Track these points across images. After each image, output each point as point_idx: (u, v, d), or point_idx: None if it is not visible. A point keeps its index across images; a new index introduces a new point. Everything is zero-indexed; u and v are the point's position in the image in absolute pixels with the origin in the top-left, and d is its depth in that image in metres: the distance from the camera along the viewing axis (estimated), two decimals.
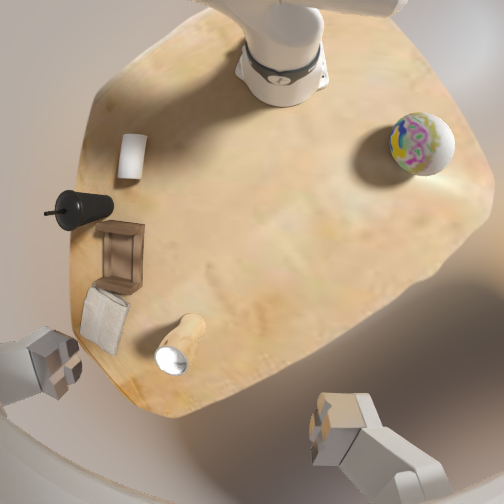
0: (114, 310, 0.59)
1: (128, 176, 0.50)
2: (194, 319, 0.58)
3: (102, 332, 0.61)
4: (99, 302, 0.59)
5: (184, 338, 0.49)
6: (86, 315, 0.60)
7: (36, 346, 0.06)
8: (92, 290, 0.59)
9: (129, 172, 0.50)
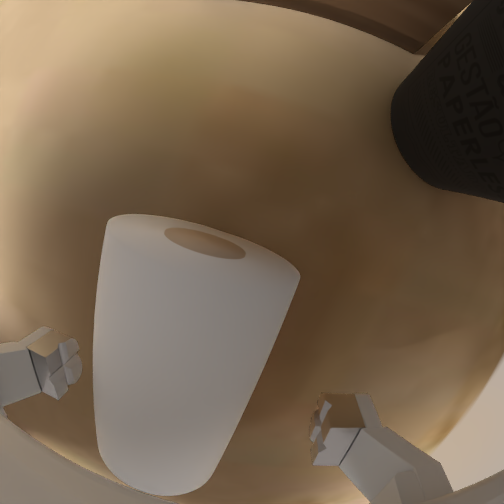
0: None
1: None
2: None
3: None
4: None
5: None
6: None
7: (36, 346, 0.06)
8: None
9: (100, 267, 0.06)
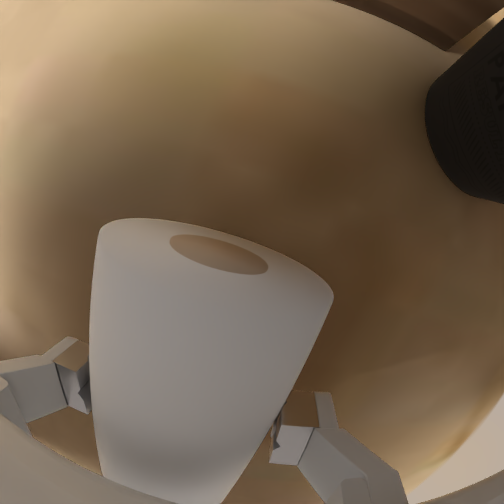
0: None
1: None
2: None
3: None
4: None
5: None
6: None
7: (63, 360, 0.06)
8: None
9: None
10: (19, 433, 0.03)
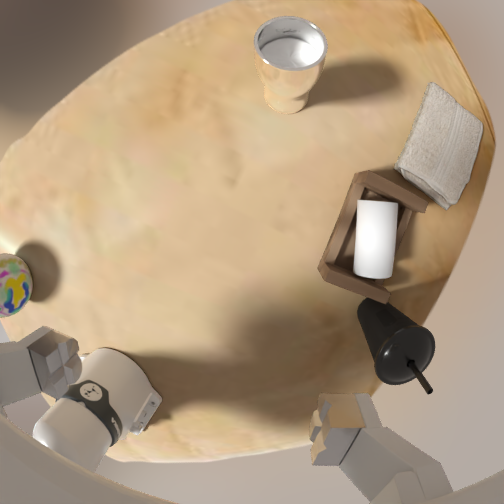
0: (421, 163, 0.32)
1: (364, 203, 0.30)
2: (274, 104, 0.32)
3: (447, 125, 0.30)
4: (444, 178, 0.32)
5: (265, 79, 0.23)
6: (469, 156, 0.31)
7: (36, 346, 0.06)
8: (452, 198, 0.33)
9: (364, 210, 0.31)
10: (19, 433, 0.03)
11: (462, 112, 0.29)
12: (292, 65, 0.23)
